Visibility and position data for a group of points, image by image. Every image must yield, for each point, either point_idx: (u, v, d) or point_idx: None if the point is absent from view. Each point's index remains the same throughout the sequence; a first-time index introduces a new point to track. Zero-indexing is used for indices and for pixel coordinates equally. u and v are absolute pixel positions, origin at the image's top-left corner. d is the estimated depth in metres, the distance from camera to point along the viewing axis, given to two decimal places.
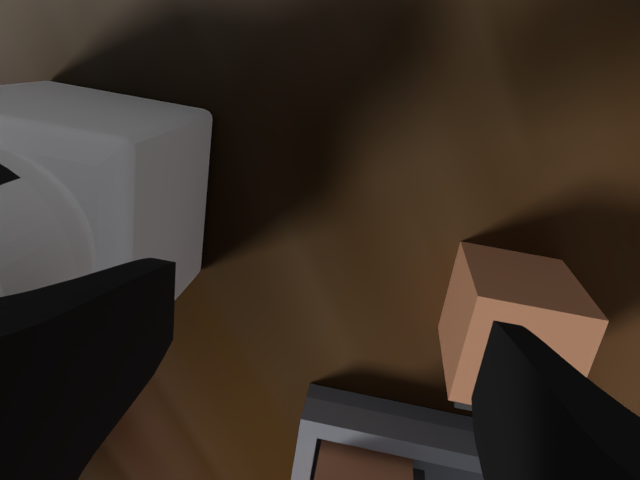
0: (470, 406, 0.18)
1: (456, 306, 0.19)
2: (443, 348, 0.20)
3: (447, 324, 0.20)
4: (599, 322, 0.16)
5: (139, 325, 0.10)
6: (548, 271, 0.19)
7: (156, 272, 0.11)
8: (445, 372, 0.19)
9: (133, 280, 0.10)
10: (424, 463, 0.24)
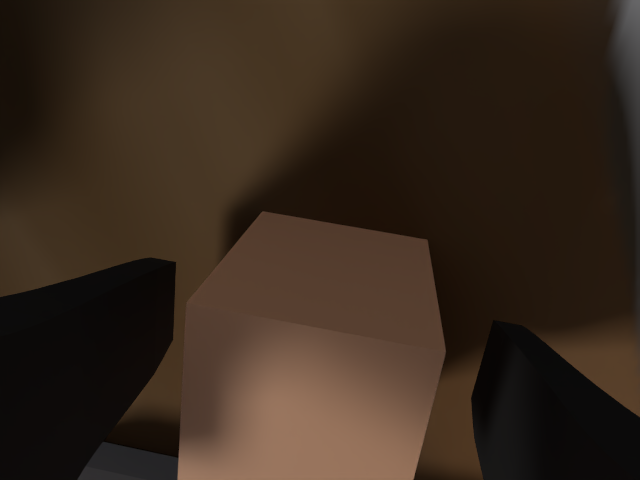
0: None
1: None
2: None
3: None
4: (427, 354, 0.08)
5: (139, 325, 0.10)
6: (386, 257, 0.11)
7: (156, 272, 0.11)
8: None
9: (133, 280, 0.10)
10: None
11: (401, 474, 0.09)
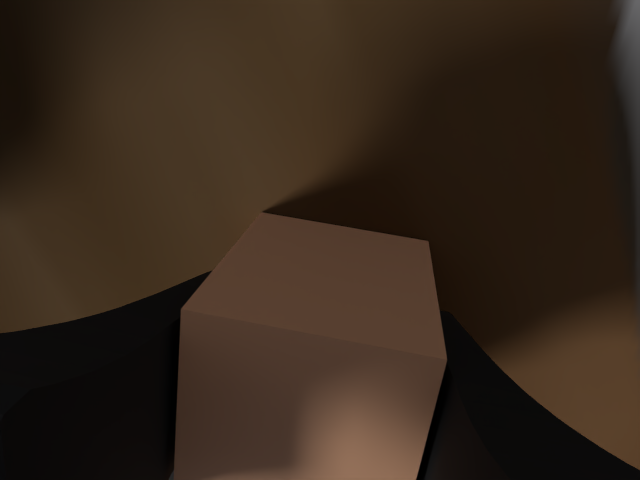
0: None
1: None
2: None
3: None
4: (428, 362, 0.08)
5: None
6: (387, 260, 0.11)
7: None
8: None
9: None
10: None
11: None
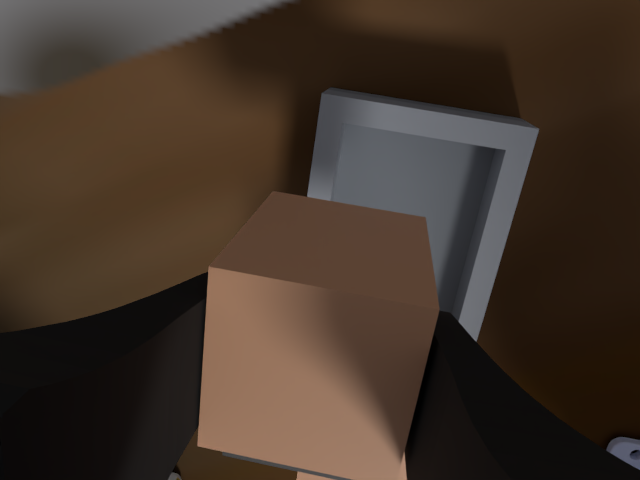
0: None
1: None
2: None
3: None
4: (423, 312, 0.09)
5: None
6: (388, 232, 0.12)
7: None
8: None
9: None
10: None
11: (399, 422, 0.10)
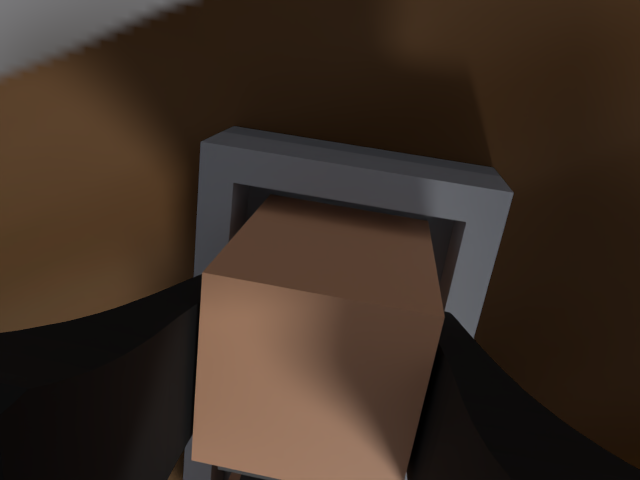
0: None
1: None
2: None
3: None
4: (427, 320, 0.08)
5: None
6: (389, 236, 0.12)
7: None
8: None
9: None
10: None
11: (403, 435, 0.09)
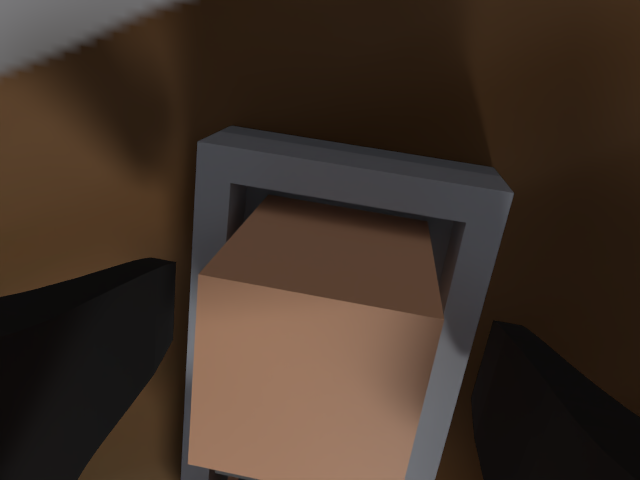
0: None
1: None
2: None
3: None
4: (426, 322, 0.08)
5: (139, 325, 0.10)
6: (388, 237, 0.11)
7: (156, 272, 0.11)
8: None
9: (133, 280, 0.10)
10: None
11: (402, 438, 0.09)
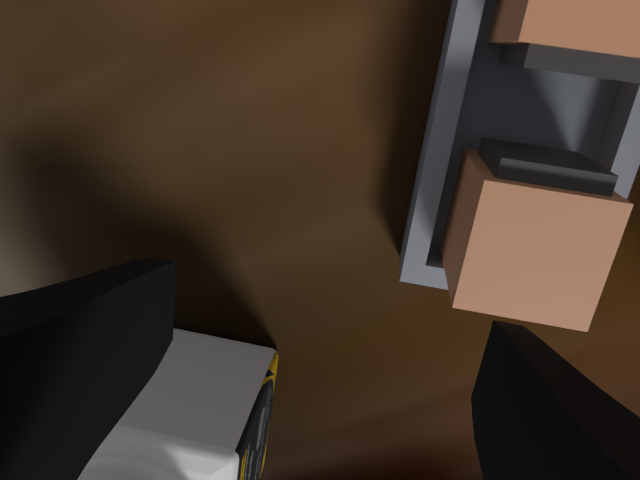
0: (545, 62, 0.14)
1: None
2: (500, 31, 0.16)
3: (505, 2, 0.16)
4: None
5: (139, 325, 0.10)
6: None
7: (156, 272, 0.11)
8: (508, 37, 0.15)
9: (133, 280, 0.10)
10: (491, 131, 0.19)
11: None
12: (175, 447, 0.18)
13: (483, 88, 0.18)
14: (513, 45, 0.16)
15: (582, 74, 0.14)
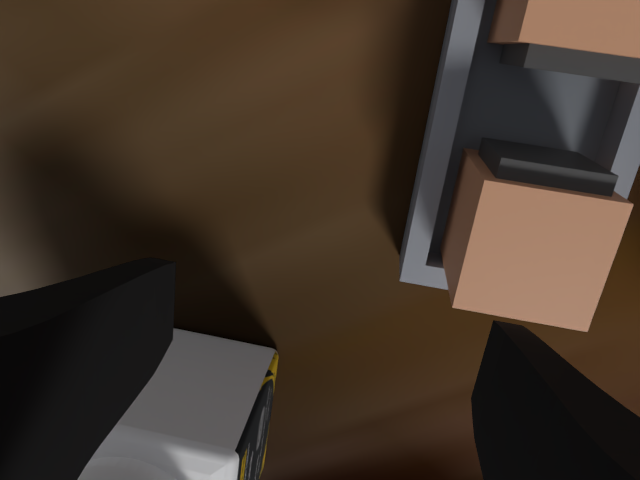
0: (545, 62, 0.14)
1: None
2: (500, 31, 0.16)
3: (505, 2, 0.16)
4: None
5: (139, 325, 0.10)
6: None
7: (156, 272, 0.11)
8: (508, 37, 0.15)
9: (133, 280, 0.10)
10: (491, 131, 0.19)
11: None
12: (175, 447, 0.18)
13: (483, 88, 0.18)
14: (513, 45, 0.16)
15: (582, 74, 0.14)
